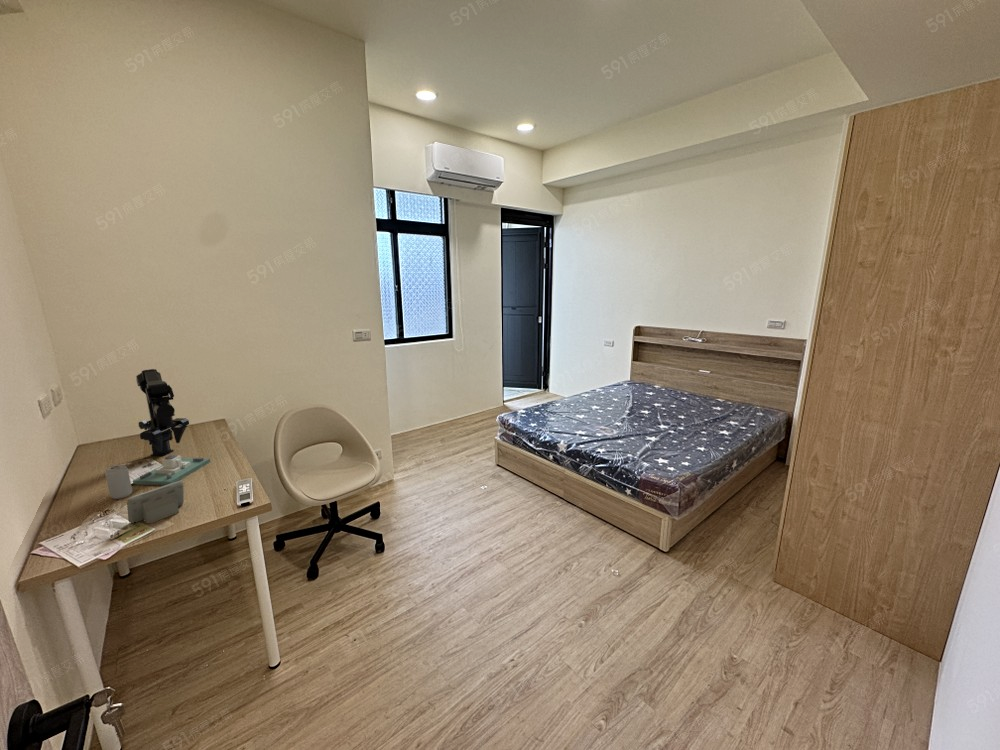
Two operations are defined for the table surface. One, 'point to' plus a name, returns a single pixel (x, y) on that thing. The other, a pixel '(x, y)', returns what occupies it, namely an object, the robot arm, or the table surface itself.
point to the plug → (172, 462)
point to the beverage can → (118, 481)
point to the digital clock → (156, 503)
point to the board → (171, 472)
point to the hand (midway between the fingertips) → (169, 447)
